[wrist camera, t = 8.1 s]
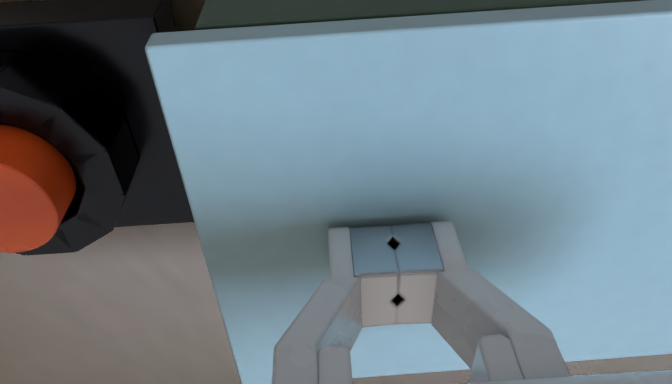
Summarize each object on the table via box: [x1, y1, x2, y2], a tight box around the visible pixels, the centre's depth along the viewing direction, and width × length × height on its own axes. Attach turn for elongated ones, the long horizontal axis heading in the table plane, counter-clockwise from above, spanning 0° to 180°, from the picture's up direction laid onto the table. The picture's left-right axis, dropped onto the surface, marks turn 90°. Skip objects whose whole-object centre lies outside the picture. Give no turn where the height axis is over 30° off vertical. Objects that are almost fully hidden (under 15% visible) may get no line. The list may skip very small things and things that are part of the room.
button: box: [0, 125, 76, 253], centre depth 16 cm, size 4×4×2 cm
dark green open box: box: [195, 0, 647, 30], centre depth 17 cm, size 13×11×7 cm
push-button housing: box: [0, 0, 194, 255], centre depth 18 cm, size 10×8×4 cm
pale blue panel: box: [145, 0, 672, 384], centre depth 14 cm, size 14×11×1 cm
